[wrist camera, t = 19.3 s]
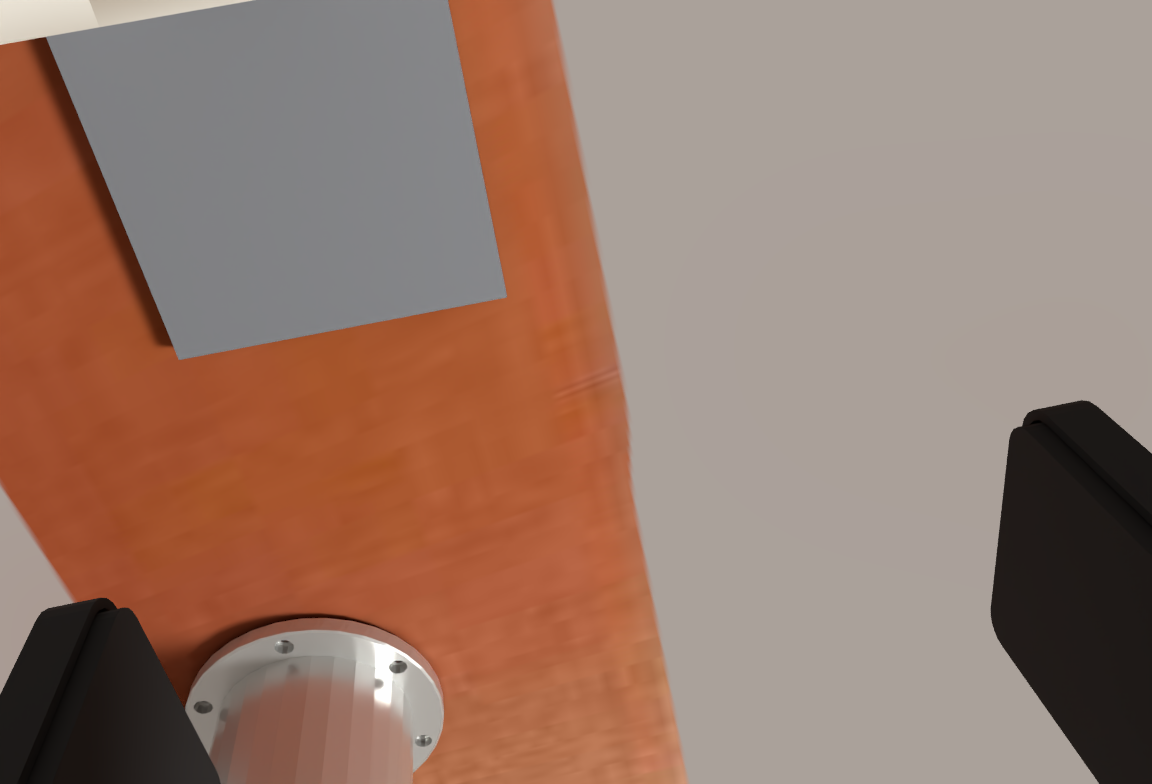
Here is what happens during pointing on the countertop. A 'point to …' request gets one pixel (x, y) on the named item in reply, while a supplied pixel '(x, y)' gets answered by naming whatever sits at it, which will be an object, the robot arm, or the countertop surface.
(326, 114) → the track
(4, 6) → the block
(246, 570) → the countertop surface
